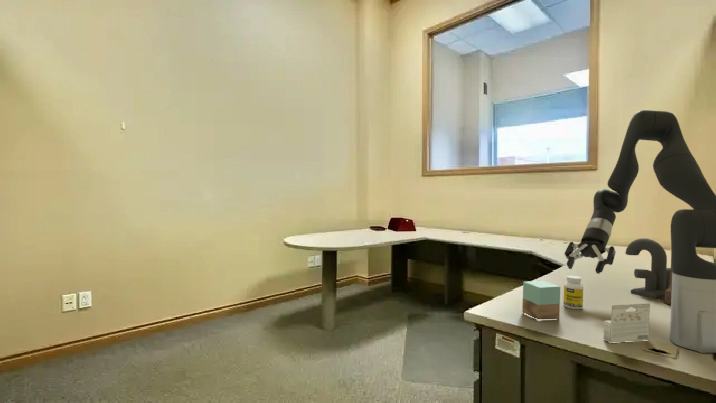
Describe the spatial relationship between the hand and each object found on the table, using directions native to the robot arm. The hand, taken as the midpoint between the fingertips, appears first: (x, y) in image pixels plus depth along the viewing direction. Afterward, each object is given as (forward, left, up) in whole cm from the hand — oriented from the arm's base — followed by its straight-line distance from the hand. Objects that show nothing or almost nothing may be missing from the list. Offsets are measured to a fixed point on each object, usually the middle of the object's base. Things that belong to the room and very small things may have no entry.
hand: (583, 269), depth 123 cm
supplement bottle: (-4, +6, -11) cm, 13 cm away
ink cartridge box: (-31, +10, -12) cm, 35 cm away
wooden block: (-1, -33, -11) cm, 35 cm away
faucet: (+14, -35, -11) cm, 39 cm away
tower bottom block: (-13, +22, -11) cm, 28 cm away
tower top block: (-13, +22, -6) cm, 26 cm away
